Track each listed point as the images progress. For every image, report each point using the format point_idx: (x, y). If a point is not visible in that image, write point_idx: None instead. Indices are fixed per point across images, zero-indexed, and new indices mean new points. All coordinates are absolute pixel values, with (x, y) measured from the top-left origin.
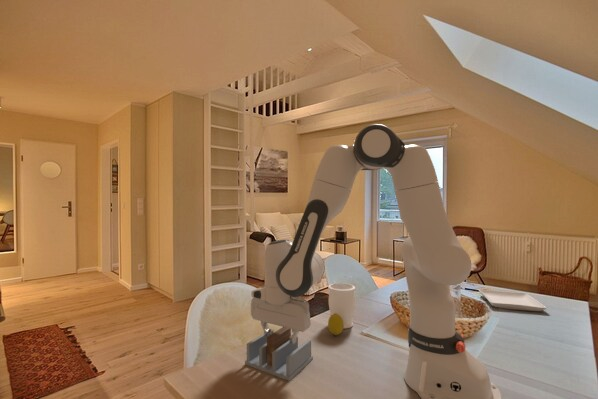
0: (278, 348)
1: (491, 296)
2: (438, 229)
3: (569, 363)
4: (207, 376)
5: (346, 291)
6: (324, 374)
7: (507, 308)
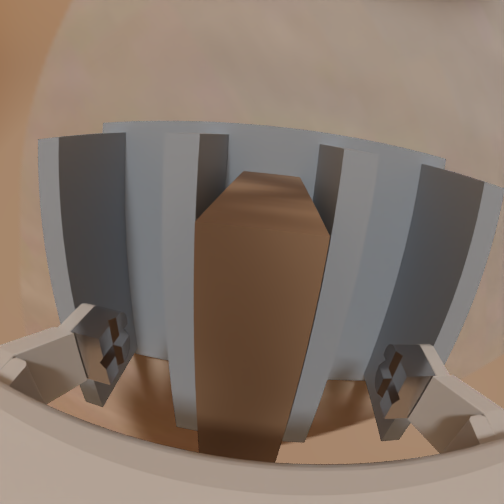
0: (299, 406)
1: None
2: None
3: None
4: (97, 415)
5: None
6: (500, 266)
7: None
